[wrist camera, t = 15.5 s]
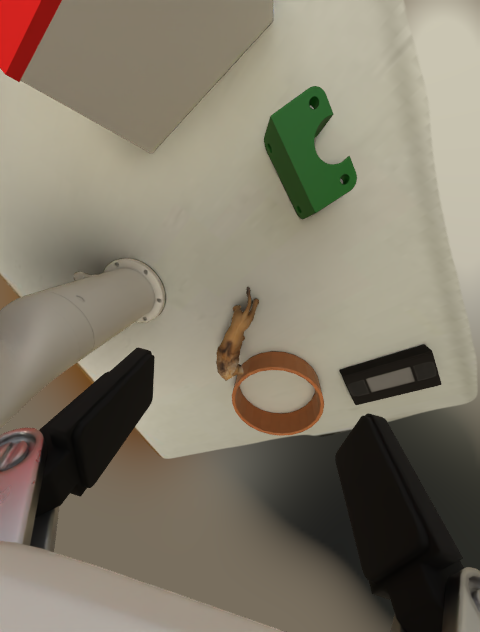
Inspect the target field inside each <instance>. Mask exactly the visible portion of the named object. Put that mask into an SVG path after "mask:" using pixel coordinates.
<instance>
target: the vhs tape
mask: <svg viewBox="0 0 480 632" xmlns="http://www.w3.org/2000/svg"><path fill="white" fill-rule="evenodd" d="M340 373H341V375H342V377H343V379H344V382H345V384H346V386H347V388H348V390H349V393H350V395H351V397H352V399H353V401H354V403H355V405H359V404H363V403H367V402H371V401H376V400H380V399H384V398H388V397H392V396H397V395H401V394H405V393H409V392H413V391H417V390H422V389H426V388H430V387H434V386H438V385H441V381H440V377H439V374H438V370H437V367H436V363H435V360H434V356H433V353H432V350H431V349H429V348H428V347H427V346H426V345H422V346H418V347H415V348H412V349H408V350H405V351H402V352H398V353H395V354H392V355H388V356H385V357H382V358H378V359H375V360H372V361H368V362H365V363H362V364H358V365H355V366H352V367H348V368H345V369H342V370H340Z"/></svg>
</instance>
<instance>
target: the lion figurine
mask: <svg viewBox="0 0 480 632" xmlns="http://www.w3.org/2000/svg"><path fill="white" fill-rule="evenodd" d="M246 294H247V296H248V304H247V307H246V309H245V311H244V312H242V311H241V306H240V305H239V306H237V305H236V306H234V307H233V311H234V314H233V317H232V322H231V326H230V327H229V329H228V331H227V332H226V334H225V336H224V339H223V341H222V343H221V345H220V346H219V347H218V350H217V361H216V363H217V369H218V373H219V374H220V375H221V377H222V378H224V379H225V380H226V381H227V380H228V379H230V378H232V376H235V375H242V374H243V368H242V367H241V365H240V364H238V363H239V355H240V349H241V345H242V341H243V340H244V339H245V337H244V336H243V334H244V331H245V330H246V329H247V328H248V327H249V325H250V324H251V322H252V320H253V318H254V314H255V310H256V307H257V305H258V303H259V300H258V299H254V300H253V302H252V304H253V305H252V309H251V311H250V312H249V310H250V307H251V296H250V288H249V287H247V292H246Z"/></svg>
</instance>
